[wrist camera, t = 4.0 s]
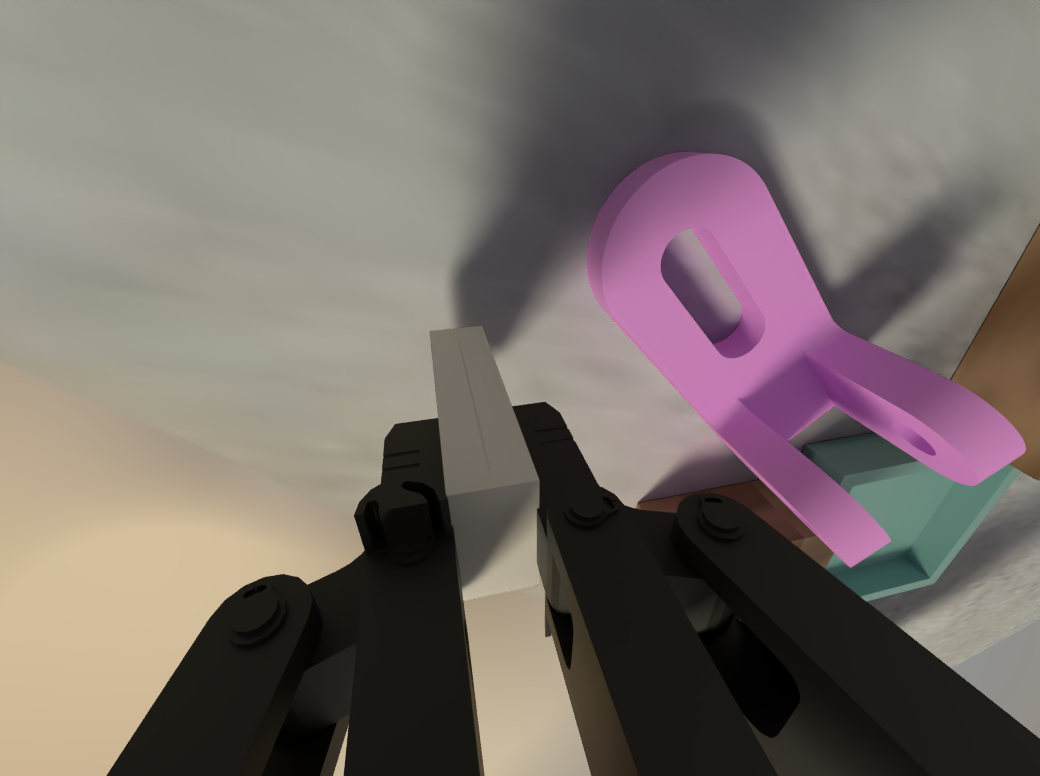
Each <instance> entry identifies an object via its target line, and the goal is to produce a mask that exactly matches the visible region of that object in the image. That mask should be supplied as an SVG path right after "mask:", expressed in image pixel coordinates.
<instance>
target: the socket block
mask: <svg viewBox="0 0 1040 776" xmlns="http://www.w3.org/2000/svg"><path fill="white" fill-rule="evenodd" d="M698 493H714V494H720V495H723V496H726V497H729V498H732V499H734V500H736V501H738V502H739V503H741V504H743V505H744V506H746V507H747V508H749V509H750V510H752V511H753V512H754V513H755V514H757V515H758V516H759V517H760V518H762V519H763V520H764V521H765V522H767V523H768V524H769V525H770V526H772V527H773V528H774V529H776V530H777V531H778V532H779V533H781V534H782V535H783V536H784V537H786V538H787V539H788V540H789V541H791V542H792V543H793V544H794V545H796V546H797V547H798V548H800V549H801V550H802V551H803V552H805V553H806V554H807V555H808V556H810V557H811V558H812V559H813V560H815V561H816V562H817V563H818V564H820V565H821V566H822V567H824V568H825V569H826V567H827V565H828V563H829V562H830V560H831V558H832V556H833V554H834V552H833V551H832V550H831V549H830V548H829V547H828V546H827V545H826V544H825V543H824V542H823V541H822V540H821V539H820V538H819V537H818V536H817V535H816V534H815V533H814V532H813V531H812V530H811V529H809V528H808V527H807V526H806V525H805V524H804V523H803V522H802V521H801V520H800V519H799V518H798V517H797V516H796V515H795V514H794V513H793V512H792V511H791V510H790V509H789V508H788V507H787V506H786V505H785V504H784V503H783V502H782V501H781V500H780V499H779V498H778V497H777V496H776V495H775V494H774V493H773V492H772V491H771V490H770V489H769V488H768V487H767V486H766V485H765V484H764V483H763V482H762V481H761V480H756V481H751V482H745V483H740V484H735V485H730V486H725V487H720V488H714V489H709V490H704V491H699V492H694V493H688V494H683V495H678V496H673V497H668V498H663V499H657V500H652V501H647V502H642V503H638V505H637V509H641V510H649V511H661V512H673V513H676V511H677V509H678V506H679V503H680V502H681V501H682V500H684V499H685V498H686V497H688V496H689V495H693V494H698Z"/></svg>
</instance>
